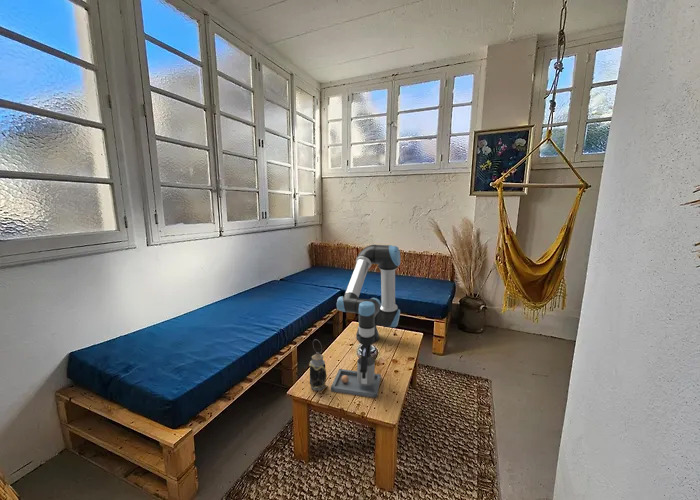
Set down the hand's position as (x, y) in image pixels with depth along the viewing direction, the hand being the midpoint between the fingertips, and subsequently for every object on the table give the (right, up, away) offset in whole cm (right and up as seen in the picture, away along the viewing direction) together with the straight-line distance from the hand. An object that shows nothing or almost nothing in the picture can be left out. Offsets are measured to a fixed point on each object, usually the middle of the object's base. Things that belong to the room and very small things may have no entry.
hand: (365, 377), depth 139 cm
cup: (0, -2, 0) cm, 2 cm away
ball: (-10, -4, +3) cm, 11 cm away
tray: (-4, -4, +2) cm, 7 cm away
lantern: (-23, -5, 0) cm, 24 cm away
